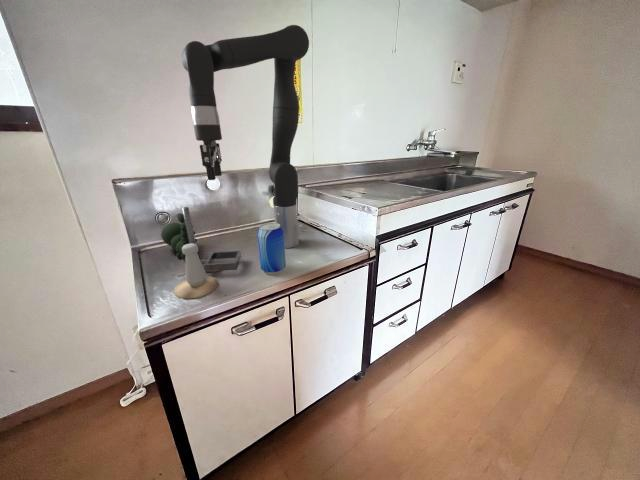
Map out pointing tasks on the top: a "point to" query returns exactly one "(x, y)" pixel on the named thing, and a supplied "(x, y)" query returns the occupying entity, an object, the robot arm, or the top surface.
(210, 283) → the disc
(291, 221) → the robot arm
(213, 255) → the ring stand
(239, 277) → the top surface
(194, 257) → the salt shaker
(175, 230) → the toy figurine
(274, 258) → the beer can
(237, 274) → the top surface
